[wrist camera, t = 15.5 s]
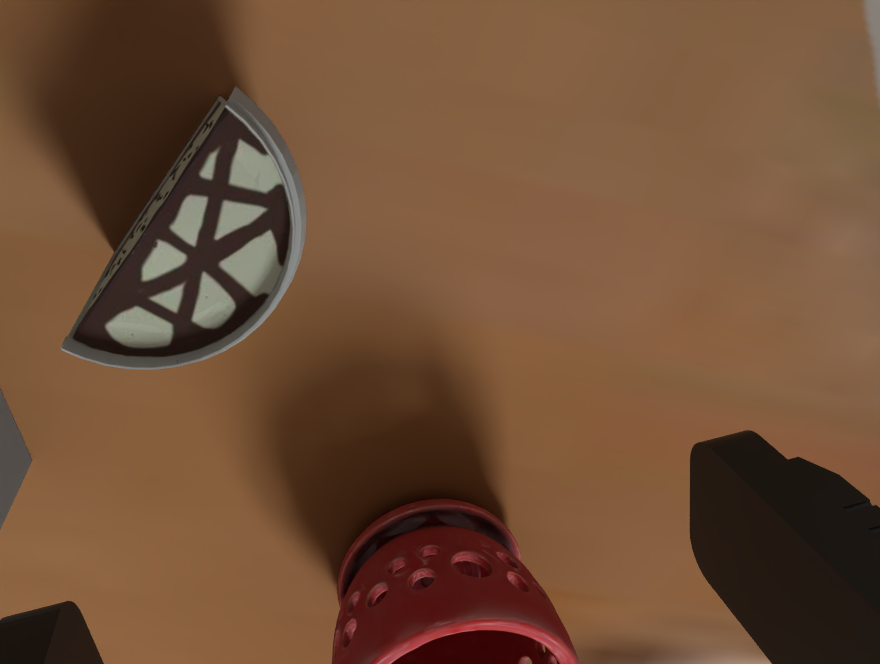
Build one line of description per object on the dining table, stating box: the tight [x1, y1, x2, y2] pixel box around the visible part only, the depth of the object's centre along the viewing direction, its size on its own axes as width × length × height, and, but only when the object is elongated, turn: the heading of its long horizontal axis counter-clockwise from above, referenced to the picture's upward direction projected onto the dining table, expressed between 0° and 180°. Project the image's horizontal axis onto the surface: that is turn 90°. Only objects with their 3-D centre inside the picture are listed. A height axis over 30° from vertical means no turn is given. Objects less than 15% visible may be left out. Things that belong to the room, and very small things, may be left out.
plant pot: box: [332, 499, 580, 664], centre depth 45 cm, size 13×13×12 cm
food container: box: [61, 86, 306, 370], centre depth 34 cm, size 12×6×10 cm, turn 141°
